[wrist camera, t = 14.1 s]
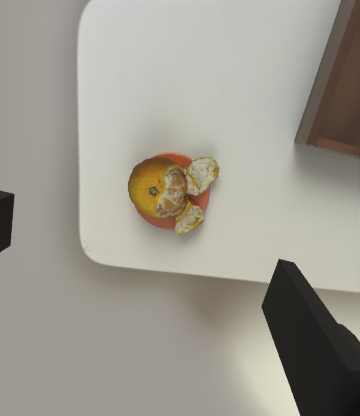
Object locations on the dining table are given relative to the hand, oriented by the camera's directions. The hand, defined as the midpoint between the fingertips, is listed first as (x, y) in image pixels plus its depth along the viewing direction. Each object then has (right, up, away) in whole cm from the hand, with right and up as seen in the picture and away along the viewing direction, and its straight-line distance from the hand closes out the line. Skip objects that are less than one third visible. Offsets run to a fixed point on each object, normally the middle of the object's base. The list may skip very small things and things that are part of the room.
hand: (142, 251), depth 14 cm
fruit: (+2, +4, +16) cm, 16 cm away
